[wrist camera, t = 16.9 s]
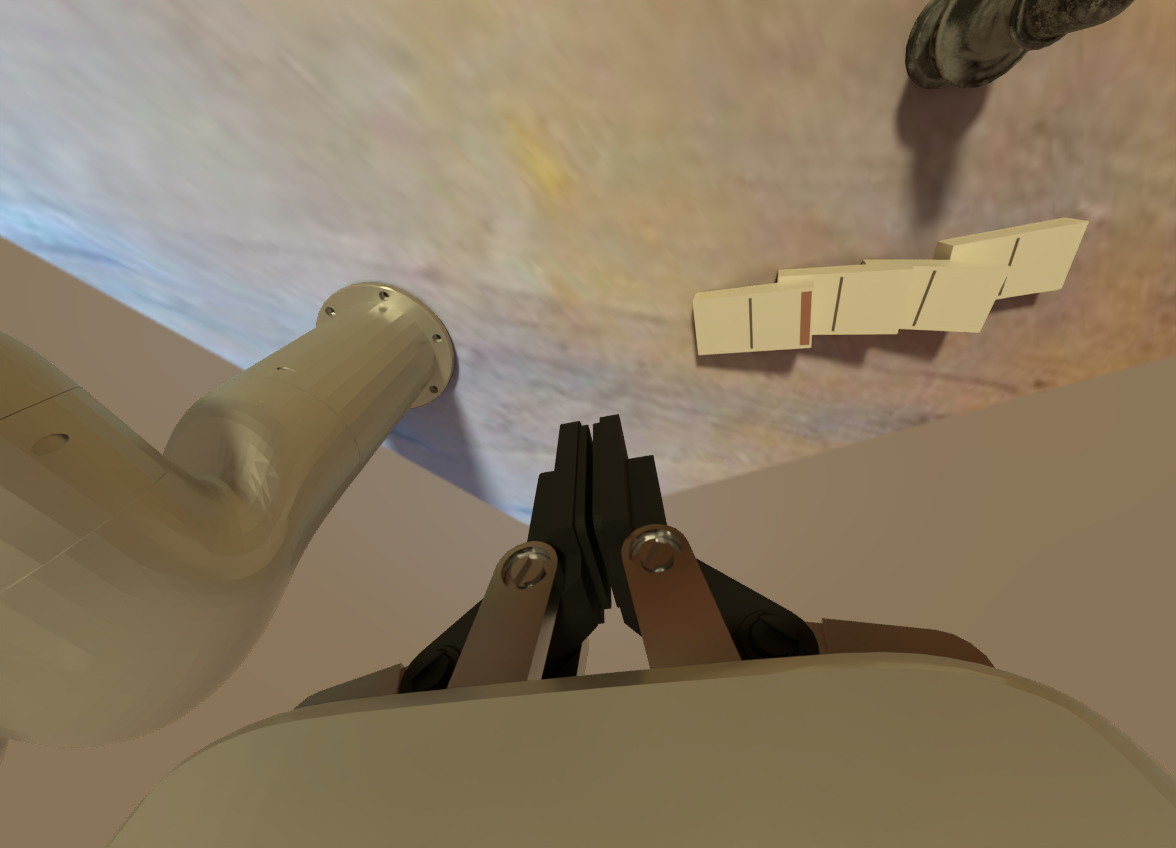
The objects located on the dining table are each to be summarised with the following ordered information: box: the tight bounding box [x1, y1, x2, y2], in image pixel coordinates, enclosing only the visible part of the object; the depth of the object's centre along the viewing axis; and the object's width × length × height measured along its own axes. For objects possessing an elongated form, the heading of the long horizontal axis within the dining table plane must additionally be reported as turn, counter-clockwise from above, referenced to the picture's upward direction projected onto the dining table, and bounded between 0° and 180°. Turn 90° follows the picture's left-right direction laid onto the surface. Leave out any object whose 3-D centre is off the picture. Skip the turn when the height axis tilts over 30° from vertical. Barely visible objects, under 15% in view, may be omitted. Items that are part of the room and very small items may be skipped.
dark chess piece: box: [905, 0, 1134, 89], centre depth 22 cm, size 6×6×12 cm
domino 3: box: [862, 260, 1011, 333], centre depth 34 cm, size 2×5×9 cm
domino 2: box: [777, 262, 914, 335], centre depth 34 cm, size 2×5×9 cm
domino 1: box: [693, 278, 814, 355], centre depth 35 cm, size 2×5×9 cm
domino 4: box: [933, 218, 1089, 299], centre depth 33 cm, size 2×5×9 cm
